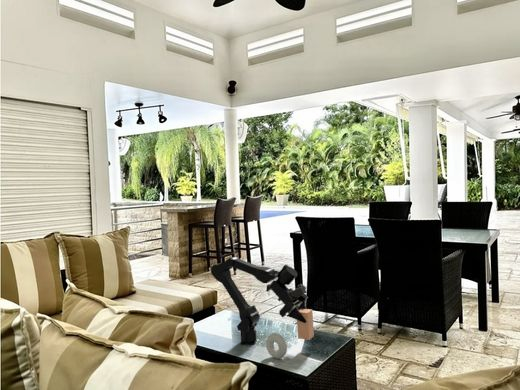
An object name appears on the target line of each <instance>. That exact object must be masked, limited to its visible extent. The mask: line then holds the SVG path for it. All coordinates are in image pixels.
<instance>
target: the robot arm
mask: <svg viewBox="0 0 520 390" xmlns="http://www.w3.org/2000/svg"><path fill="white" fill-rule="evenodd" d="M232 268H234V269H237V270H239V271H242V272H243V273H246V274H249V275H252V276H253V277H254V278H255V279H256V280H257V281H259V282H261V283H262V284H266V293H268V292H270V291H272V293H274V294H275V296H277V301H278V302H281V303H283V307H281V309H280V310H279V316H280V317H281V318H285V317H289V318H291V319H294V320H296V321H297V320H298V321H301V322H303V323H306V320H305V318H304V317H303V316H302V314H301V313H300V311H299V310H300V309H308V307H307V299H308V298H309V296H308V295H307V290H306V289H307V287H306V286H305V285H304V284H303V283H300V284H298V285H297V287H296V288H295V289H293V288H289V287H288V286H289V285H291V284H292V283H293V281H294V280H295V279H296V278H297V276H298V271H296V270H295V268H293V267H292V266H289V265H288V264H284V265H283V267H282V268H281V270H275V269H274V268H273V267H270V266H269V267H268V266H259V265H256V264H253V263H251V262H249V261H246V260H243V259H241V258H238V256H237V257H236V256H232V257H229V258H227V259H226V260H225V261H223V262H220V263H217V264H213V265H212V266H211V269H210V273H211V276H212V277H213V278H214V279H215V280H216V281H217V282H219V283H220V284H222V285H223V288H224V290H225V291H226V292H227V294H228V296H229V297H230V299H231V300H232V301H233V303H234V305H235V306H236V308H237V309H238V315H239V319H240V321H239V323H238V324H237V325H236V328H237V330H238V331H240V343H239V344H240V345H255V344H256V342H257V340H258V337H257V336H258V335H257V330H256V327H257V325H258V323H259V322H260V318H261V316H260V314H259V313H260V312H259V311H258V309H257V308H256V306H255V305H254V304H253V305H252V306H251V305H250V304H249V303H248V302H247V300H246V299H245V297H244V296H243V294H242V293H241V291H240V290H239V288H238V287H237V285H236V283H235V282H234V280H233V278H232V273H231V270H232ZM275 279H276V280H275ZM268 283H270V284H268Z"/></svg>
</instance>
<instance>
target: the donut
mask: <svg viewBox="0 0 520 390" xmlns="http://www.w3.org/2000/svg"><path fill="white" fill-rule="evenodd" d="M284 338H285V337H283V336H282V335H281V334H279V333H278V332H272V333H270V334H269V335H268V336H267V337H266V340H265V347H266V350H267V353H268V354H269V355H270V356H271V357H272V358H274V359H279V360H281V359H282V358H284V357H285V356H286V354H287V351H288V346H287V342H286V340H285V339H284ZM275 343H276V344H277V346H278V349H277V348H276V346H275Z"/></svg>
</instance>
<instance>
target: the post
mask: <svg viewBox="0 0 520 390" xmlns="http://www.w3.org/2000/svg"><path fill="white" fill-rule="evenodd" d="M299 311H300V313H301V314H302V316H303V317H304V318H305V320H306V323H303V322H301V321H298V320H296V324H297V325H296V326H297V339H299V340H308V341H310V340H312V338H314V336H315V332H314V318H313V317H314V315H313V313H314V311H313V309H312V308H311V309H309V308H307V309H300V310H299Z"/></svg>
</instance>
